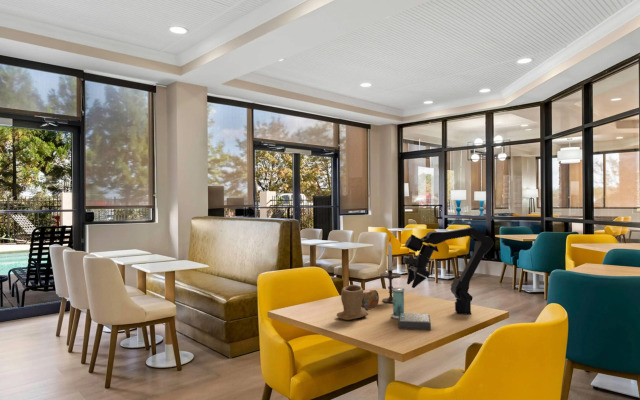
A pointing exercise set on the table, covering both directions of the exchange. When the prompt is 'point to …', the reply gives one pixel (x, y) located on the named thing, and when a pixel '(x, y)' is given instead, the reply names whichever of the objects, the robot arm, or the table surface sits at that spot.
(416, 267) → the robot arm
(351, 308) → the stone cup
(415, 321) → the stand
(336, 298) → the table surface
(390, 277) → the candlestick
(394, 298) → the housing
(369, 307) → the tin
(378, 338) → the table surface
